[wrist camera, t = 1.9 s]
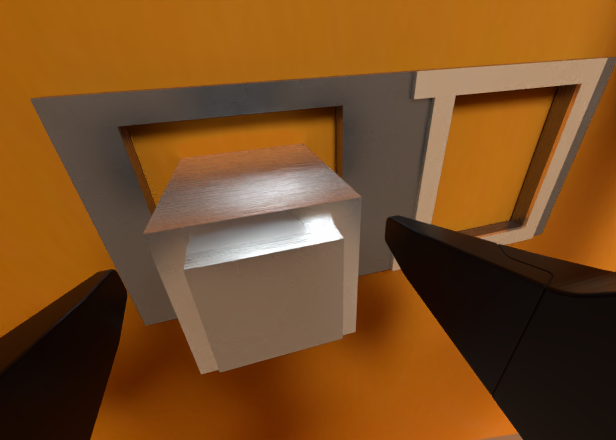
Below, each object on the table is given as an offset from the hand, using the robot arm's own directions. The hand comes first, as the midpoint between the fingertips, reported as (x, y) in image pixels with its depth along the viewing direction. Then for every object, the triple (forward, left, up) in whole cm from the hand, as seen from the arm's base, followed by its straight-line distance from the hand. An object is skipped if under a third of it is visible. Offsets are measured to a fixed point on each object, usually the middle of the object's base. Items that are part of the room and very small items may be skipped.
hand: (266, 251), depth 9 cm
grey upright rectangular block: (0, 0, -4) cm, 4 cm away
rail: (-6, 0, -4) cm, 7 cm away
